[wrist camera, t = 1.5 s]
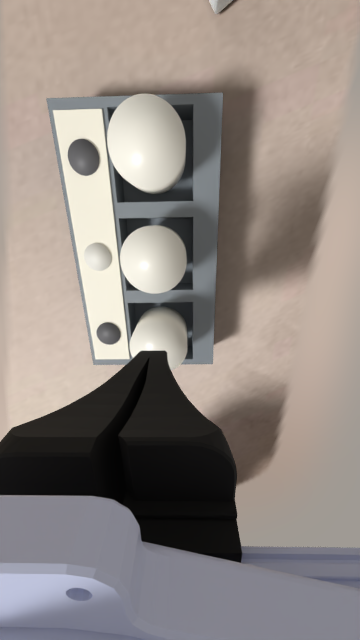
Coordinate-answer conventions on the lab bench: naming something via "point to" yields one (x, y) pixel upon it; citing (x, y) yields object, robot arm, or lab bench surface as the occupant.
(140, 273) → the button
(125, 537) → the robot arm
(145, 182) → the button
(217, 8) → the skincare box
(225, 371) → the lab bench surface
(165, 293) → the console
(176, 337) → the button
